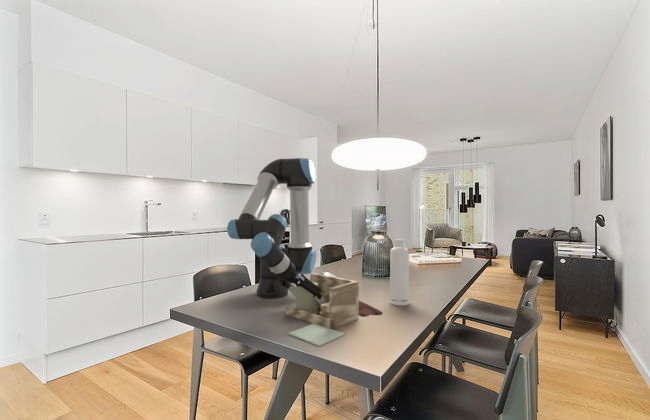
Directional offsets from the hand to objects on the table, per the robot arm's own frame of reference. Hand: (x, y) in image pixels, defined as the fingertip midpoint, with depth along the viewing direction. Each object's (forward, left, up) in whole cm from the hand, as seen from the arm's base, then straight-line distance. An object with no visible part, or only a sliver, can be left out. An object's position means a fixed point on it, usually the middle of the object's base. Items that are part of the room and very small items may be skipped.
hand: (310, 298), depth 132 cm
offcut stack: (+14, -2, -5) cm, 15 cm away
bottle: (+21, +35, -5) cm, 41 cm away
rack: (+8, -2, -5) cm, 9 cm away
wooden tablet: (+10, +18, -6) cm, 22 cm away
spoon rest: (-20, +35, -5) cm, 41 cm away
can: (0, -2, -5) cm, 5 cm away
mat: (+19, -16, -5) cm, 25 cm away
